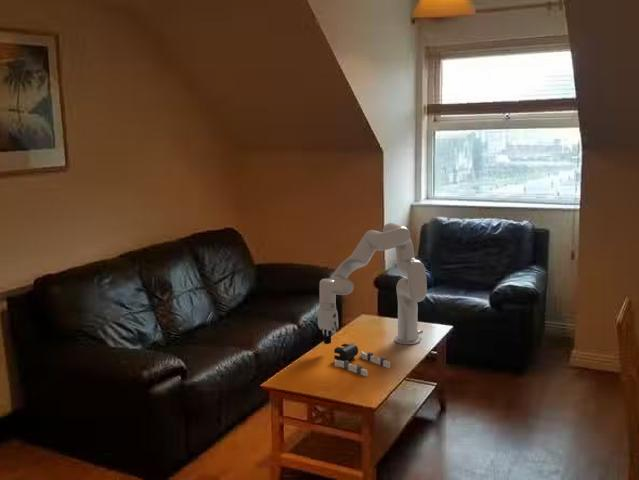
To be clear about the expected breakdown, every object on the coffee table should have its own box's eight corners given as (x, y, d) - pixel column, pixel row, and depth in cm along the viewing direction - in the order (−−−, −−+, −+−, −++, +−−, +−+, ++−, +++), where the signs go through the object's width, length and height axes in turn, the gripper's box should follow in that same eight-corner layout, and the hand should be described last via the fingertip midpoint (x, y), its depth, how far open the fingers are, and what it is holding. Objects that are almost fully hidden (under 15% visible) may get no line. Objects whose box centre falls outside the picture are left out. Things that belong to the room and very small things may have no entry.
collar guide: (362, 355, 311) (362, 348, 311) (392, 366, 298) (392, 358, 297) (333, 365, 300) (333, 358, 299) (363, 377, 286) (363, 369, 285)
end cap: (347, 365, 301) (347, 350, 299) (333, 362, 304) (333, 347, 303) (358, 358, 309) (358, 344, 307) (345, 355, 313) (345, 341, 311)
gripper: (344, 307, 308) (344, 345, 311) (322, 300, 319) (322, 337, 322) (332, 310, 303) (332, 349, 306) (310, 303, 314) (310, 341, 317)
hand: (327, 343), depth 314 cm, fingers closed
